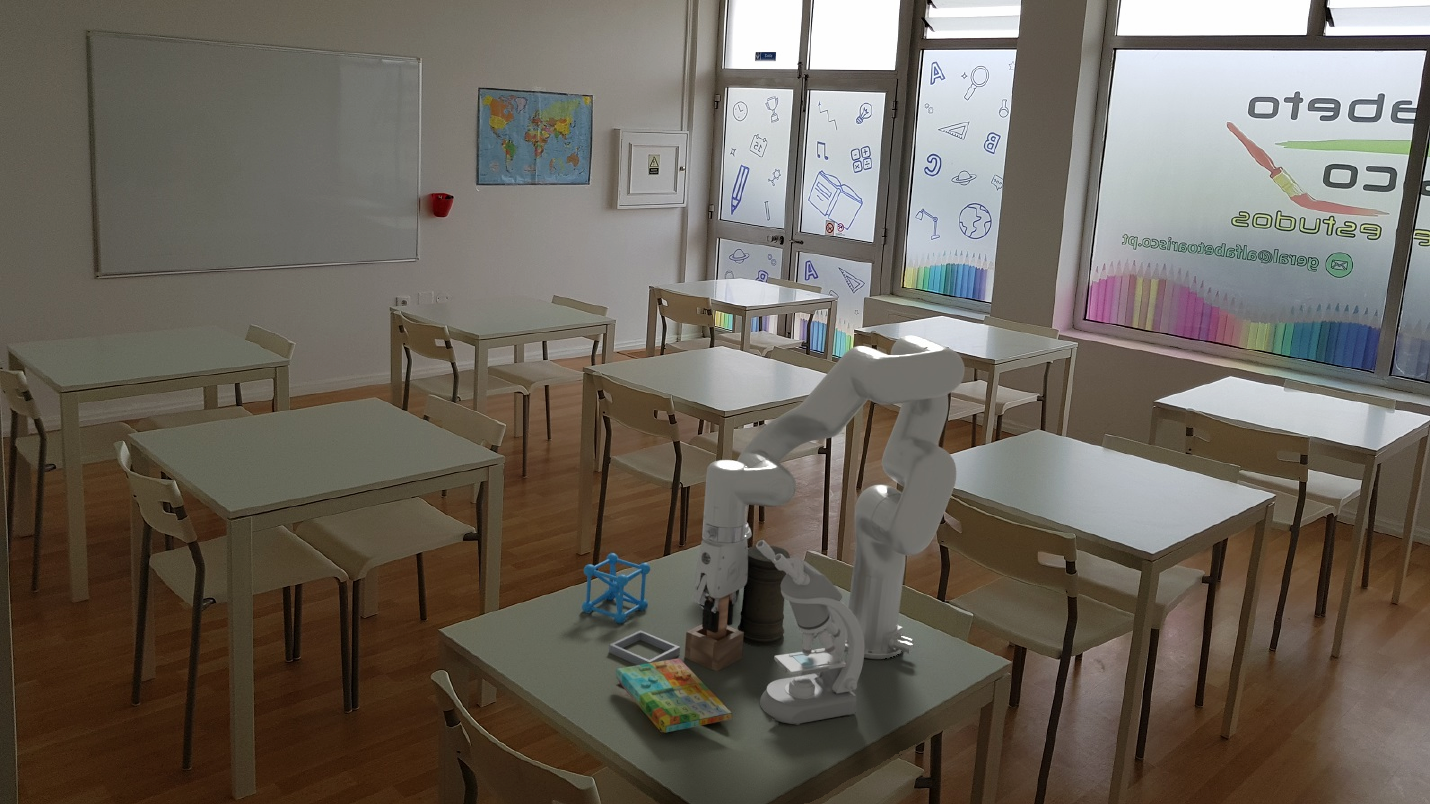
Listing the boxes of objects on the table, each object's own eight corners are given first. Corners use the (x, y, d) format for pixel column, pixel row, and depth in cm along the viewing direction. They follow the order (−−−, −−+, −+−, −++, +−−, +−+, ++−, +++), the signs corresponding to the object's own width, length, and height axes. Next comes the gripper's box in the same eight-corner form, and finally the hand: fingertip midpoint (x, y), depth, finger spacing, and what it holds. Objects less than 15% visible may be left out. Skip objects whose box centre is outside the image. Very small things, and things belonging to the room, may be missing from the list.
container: (790, 638, 217) (799, 550, 213) (772, 656, 209) (781, 565, 205) (747, 626, 220) (755, 540, 216) (728, 643, 213) (736, 554, 208)
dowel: (728, 652, 205) (732, 596, 202) (717, 658, 202) (721, 601, 199) (713, 646, 207) (717, 590, 204) (701, 652, 204) (705, 595, 201)
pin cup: (741, 662, 205) (743, 632, 204) (716, 676, 200) (719, 645, 198) (708, 649, 210) (711, 619, 208) (684, 662, 204) (686, 631, 202)
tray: (679, 659, 205) (680, 646, 204) (648, 675, 198) (649, 662, 198) (639, 642, 210) (640, 630, 210) (608, 657, 204) (609, 644, 203)
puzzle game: (678, 653, 198) (732, 708, 181) (676, 677, 199) (730, 734, 182) (616, 663, 192) (666, 721, 175) (614, 688, 193) (664, 748, 176)
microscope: (735, 702, 191) (750, 535, 184) (830, 686, 199) (848, 526, 192) (765, 734, 182) (782, 560, 175) (864, 716, 190) (883, 549, 183)
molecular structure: (621, 626, 216) (624, 578, 214) (579, 612, 221) (581, 565, 219) (649, 609, 225) (652, 562, 222) (608, 596, 229) (611, 550, 227)
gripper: (712, 548, 190) (705, 648, 194) (768, 524, 203) (760, 618, 207) (677, 536, 194) (671, 634, 199) (734, 514, 207) (727, 606, 212)
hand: (717, 625), depth 203 cm, fingers closed on dowel, 3 cm apart
